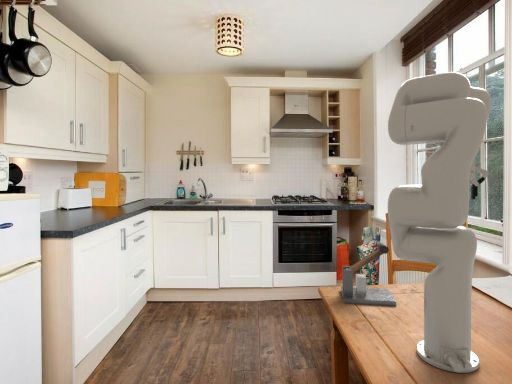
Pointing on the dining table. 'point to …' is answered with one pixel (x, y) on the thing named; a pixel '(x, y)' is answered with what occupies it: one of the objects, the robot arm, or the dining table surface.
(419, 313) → the dining table surface
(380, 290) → the base
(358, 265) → the lever
